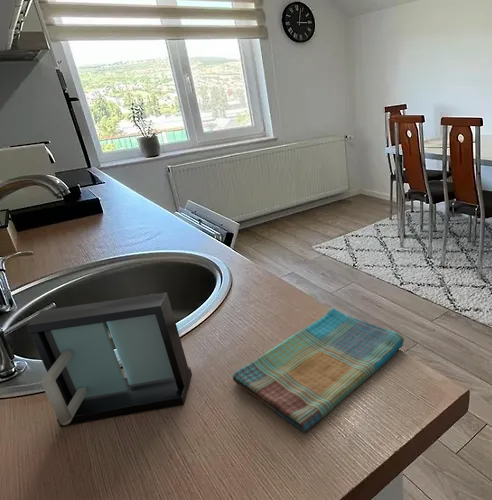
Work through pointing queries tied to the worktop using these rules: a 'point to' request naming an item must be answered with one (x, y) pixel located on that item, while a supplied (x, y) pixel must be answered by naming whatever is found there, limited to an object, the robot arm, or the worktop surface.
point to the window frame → (125, 354)
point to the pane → (81, 367)
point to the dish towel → (318, 367)
